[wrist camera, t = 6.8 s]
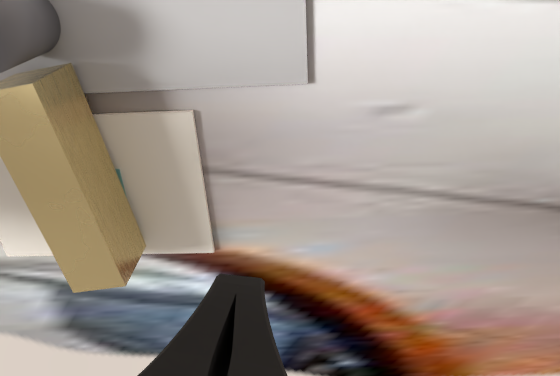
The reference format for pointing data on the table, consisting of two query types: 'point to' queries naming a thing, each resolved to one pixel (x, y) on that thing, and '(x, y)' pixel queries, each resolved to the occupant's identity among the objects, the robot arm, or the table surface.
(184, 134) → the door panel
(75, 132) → the bar
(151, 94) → the table surface
